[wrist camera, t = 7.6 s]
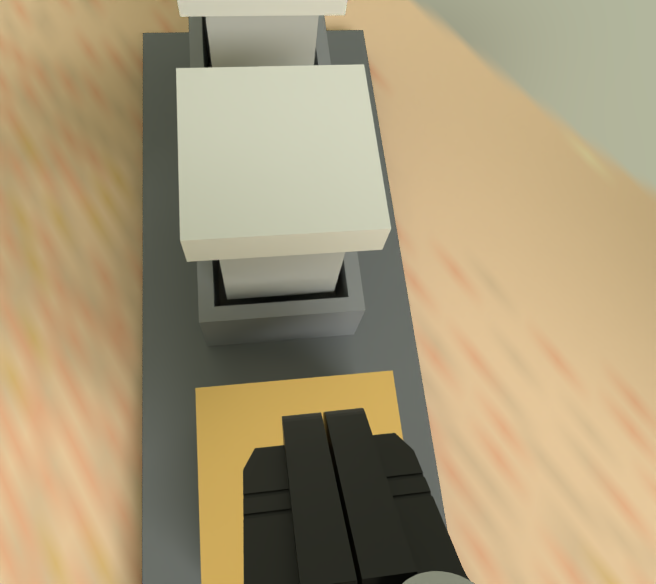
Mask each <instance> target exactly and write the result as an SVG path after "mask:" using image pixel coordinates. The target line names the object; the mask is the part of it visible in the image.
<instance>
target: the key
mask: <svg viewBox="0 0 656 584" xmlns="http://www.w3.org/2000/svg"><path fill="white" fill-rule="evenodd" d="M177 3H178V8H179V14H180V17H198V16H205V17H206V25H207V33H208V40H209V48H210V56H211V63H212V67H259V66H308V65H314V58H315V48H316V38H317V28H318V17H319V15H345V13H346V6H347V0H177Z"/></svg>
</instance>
